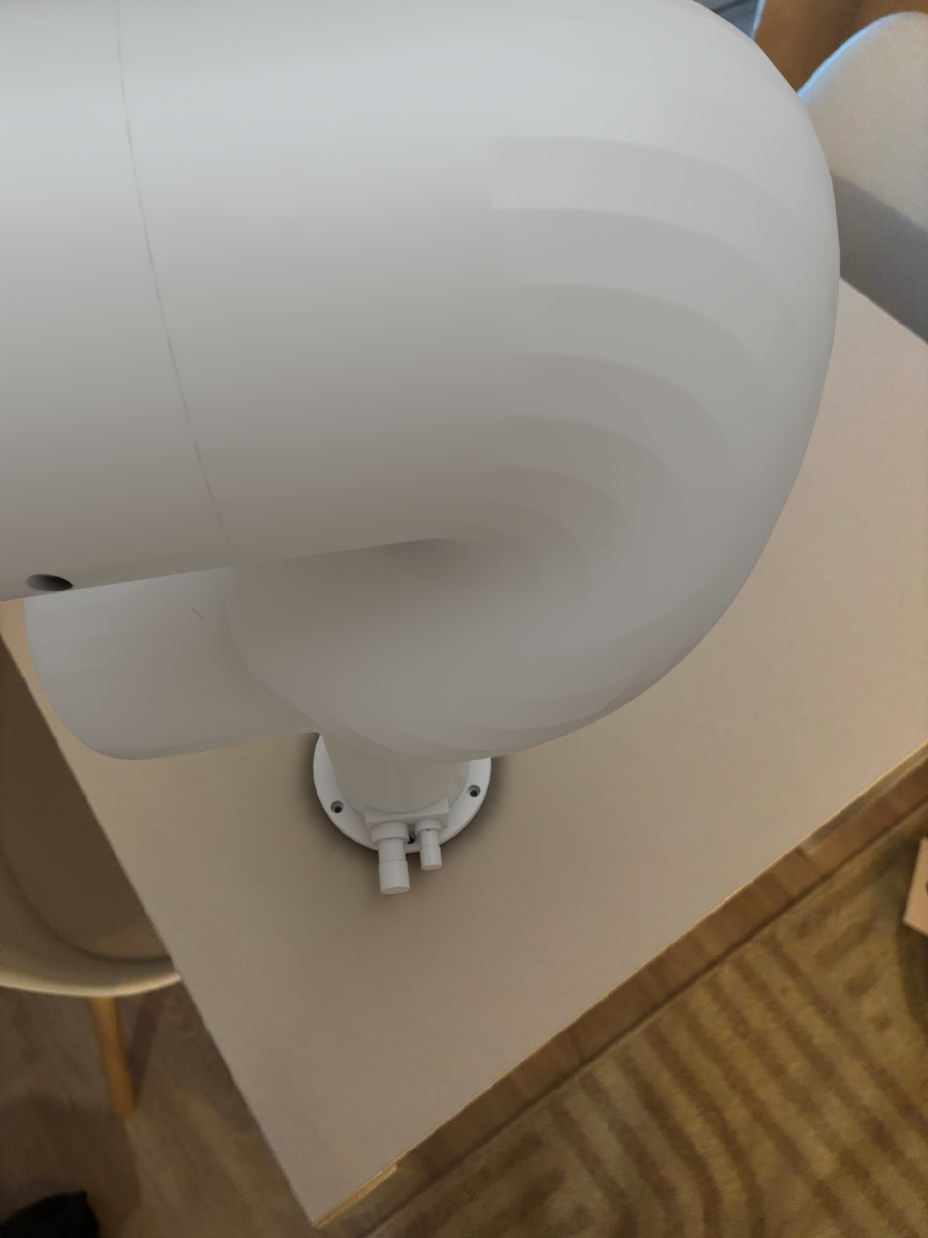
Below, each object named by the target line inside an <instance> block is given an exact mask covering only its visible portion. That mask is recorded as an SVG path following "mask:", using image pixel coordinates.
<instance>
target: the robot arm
mask: <svg viewBox="0 0 928 1238" xmlns="http://www.w3.org/2000/svg"><path fill="white" fill-rule="evenodd" d="M803 102H804V101H802V99H801V97H800V96H799V94H798V93H797V92H796V91H795V90H794V88H793V87H792V86H791V85H790V83H789V82H788V81H787V80H786V78H785V77H784V76H783V74H782V73H781V72H780V71H779V69H778V68H777V67H776V66H775V64H774V63H773V61H772V60H771V59H770V58H769V57H768V55H767V54H766V53H765V51H764V50H763V49H762V48H761V47H760V46H759V45H758V44H757V42H756V41H754V40H753V39H752V38H751V37H749V36H748V35H747V34H746V33H745V32H743V31H742V30H740V29H739V28H738V27H736V26H735V25H734V24H733V23H731V22H729V21H728V20H727V19H725V18H723V17H722V16H720V15H719V14H717V13H715V12H714V11H713V10H711V9H709V8H708V7H706V6H704V5H703V4H702V3H700V2H697V1H695V0H0V602H6V601H13V600H14V601H15V600H19V599H23V618H24V629H25V635H26V643H27V648H28V651H29V655H30V659H31V663H32V665H33V668H34V672H35V674H36V678H37V680H38V682H39V684H40V687H41V689H42V691H43V693H44V695H45V698H46V699H47V701H48V702H49V704H50V706H51V708H52V709H53V711H54V713H55V714H56V715H57V717H58V718H59V720H60V722H61V723H62V724H63V725H64V726H65V727H66V729H67V730H68V731H69V732H70V733H71V734H72V735H73V736H74V737H75V738H76V739H77V740H78V741H79V742H81V743H82V744H83V745H84V746H86V747H88V748H89V749H90V750H92V751H93V752H96V753H98V754H99V755H103V756H105V757H108V758H111V759H112V758H113V759H117V760H124V761H145V760H146V761H147V760H157V759H159V760H160V759H167V758H175V757H179V756H186V755H194V754H199V753H205V752H210V751H216V750H221V749H222V750H223V749H227V748H233V747H239V746H244V745H245V746H246V745H251V744H256V743H261V742H268V741H272V740H279V739H283V738H289V737H295V736H300V735H306V734H307V735H308V734H311V733H317V734H319V736H318V738H317V741H316V745H315V748H314V754H313V759H312V761H313V762H312V769H313V770H312V771H313V783H314V786H315V790H316V794H317V798H318V800H319V802H320V804H321V807H322V808H323V810H324V812H325V813H326V815H327V816H328V818H329V820H330V821H331V822H332V823H333V824H334V825H335V826H336V827H337V829H339V831H340V832H341V833H343V834H344V835H345V836H346V837H348V838H349V839H351V840H353V841H354V842H355V843H357V844H359V845H362V846H364V847H366V848H368V849H370V850H374V851H377V852H378V862H379V863H378V875H379V876H378V877H379V888H380V889H379V890H380V894H384V895H394V894H395V895H396V894H402V893H405V892H408V891H410V890H411V884H410V874H409V863H408V861H407V856H406V854H413V853H418V852H419V858H420V860H419V861H420V868H421V870H423V871H433V870H438V869H441V868H442V867H443V860H442V851H441V846H440V845H442V844H444V843H445V842H448V841H449V840H451V839H452V838H454V837H456V836H457V835H458V834H459V833H461V831H463V830H464V829H465V828H466V827H467V826H468V825H469V824H470V823H471V821H472V820H473V819H474V817H475V816H476V815H477V813H479V811H480V808H481V807H482V805H483V802H484V800H485V798H486V796H487V792H488V789H489V785H490V781H491V773H492V758H498V757H505V756H509V755H512V754H516V753H519V752H523V751H526V750H529V749H532V748H535V747H538V746H541V745H543V744H546V743H549V742H552V741H554V740H557V739H561V738H562V737H565V736H568V735H570V734H572V733H575V732H577V731H579V730H581V729H584V728H587V727H588V726H592V725H593V724H594V723H596V722H598V721H600V720H601V719H604V718H606V717H607V716H610V715H611V714H612V713H614V712H616V711H618V710H619V709H621V708H623V707H624V706H625V705H627V704H628V703H630V702H632V701H633V700H635V699H637V698H638V697H640V696H641V695H643V694H644V693H645V692H647V691H648V690H649V689H650V688H652V687H653V686H654V685H656V684H657V683H658V682H659V681H661V680H662V679H663V678H664V677H666V676H667V675H668V674H669V673H671V671H672V670H674V668H676V667H677V666H678V665H679V664H680V663H682V662H683V661H684V660H685V658H687V657H688V655H689V654H691V653H692V652H693V650H694V649H695V648H696V647H697V646H698V645H699V644H701V642H702V641H703V640H704V639H705V637H706V636H707V635H708V634H709V632H710V631H711V630H712V629H713V628H714V627H715V626H716V624H717V623H718V622H719V620H721V619H722V617H723V616H724V615H725V613H726V612H727V610H728V609H729V608H730V606H731V605H732V603H733V602H734V600H735V599H736V598H737V596H739V595H738V594H739V593H740V591H741V590H742V588H743V587H744V585H745V584H746V582H747V581H748V579H749V578H750V576H751V574H752V572H753V571H754V569H755V568H756V566H757V564H758V562H759V560H760V558H761V556H762V554H763V552H764V550H765V548H766V547H767V544H768V541H769V540H770V538H771V536H772V534H773V532H774V529H775V527H776V525H777V523H778V520H779V519H780V516H781V514H782V512H783V510H784V509H785V505H786V503H787V501H788V499H789V497H790V494H791V492H792V490H793V488H794V485H795V484H796V480H797V479H798V476H799V473H800V470H801V467H802V464H803V462H804V460H805V455H806V453H807V449H808V447H809V443H810V439H811V438H812V433H813V431H814V427H815V424H816V422H817V418H818V415H819V410H820V406H821V401H822V398H823V392H824V389H825V384H826V379H827V374H828V370H829V366H830V361H831V356H832V352H833V348H834V342H835V341H834V340H835V333H836V325H837V316H838V315H837V314H838V302H839V291H840V290H839V289H840V281H841V280H840V279H841V278H840V277H841V249H840V239H839V238H840V237H839V227H838V219H837V208H836V199H835V192H834V183H833V179H832V176H831V173H830V169H829V165H828V162H827V159H826V155H825V153H824V150H823V147H822V144H821V142H820V140H819V138H818V134H817V132H816V129H815V126H814V125H813V121H812V120H811V117H810V114H809V112H808V110H807V108H806V106H805V104H804V103H803ZM472 793H476V794H477V795H476V796H472V795H471V794H472ZM338 808H339V809H341V810H340V811H339V812H336V809H338ZM410 839H412V840H413V842H412V843H408V842H410Z"/></svg>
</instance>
